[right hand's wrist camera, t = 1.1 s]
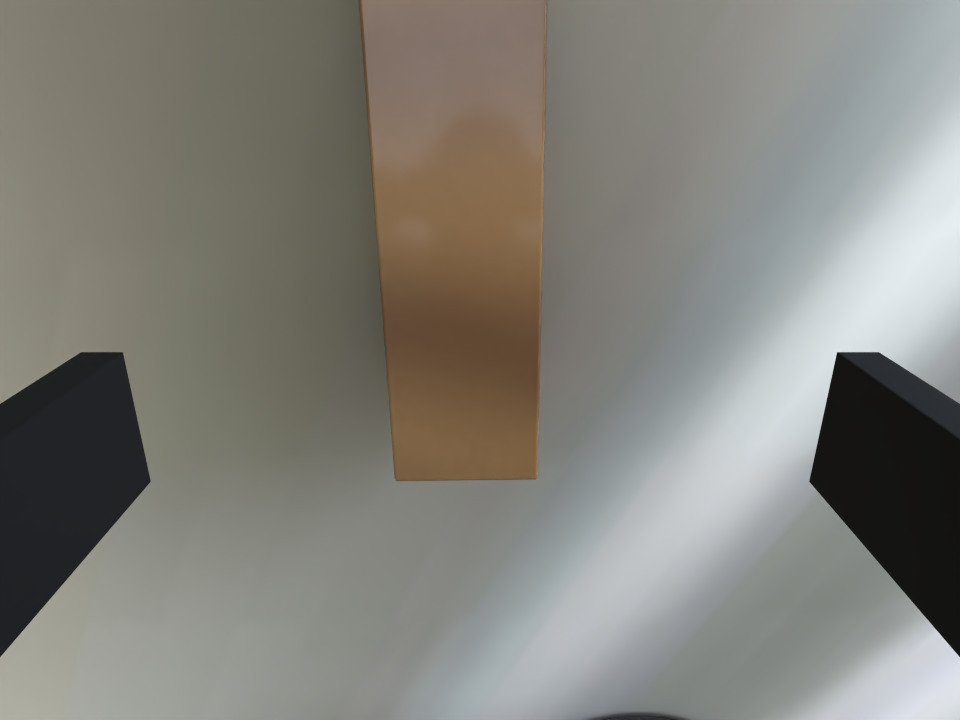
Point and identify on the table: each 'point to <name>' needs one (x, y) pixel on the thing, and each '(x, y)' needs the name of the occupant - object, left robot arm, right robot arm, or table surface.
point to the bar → (459, 228)
